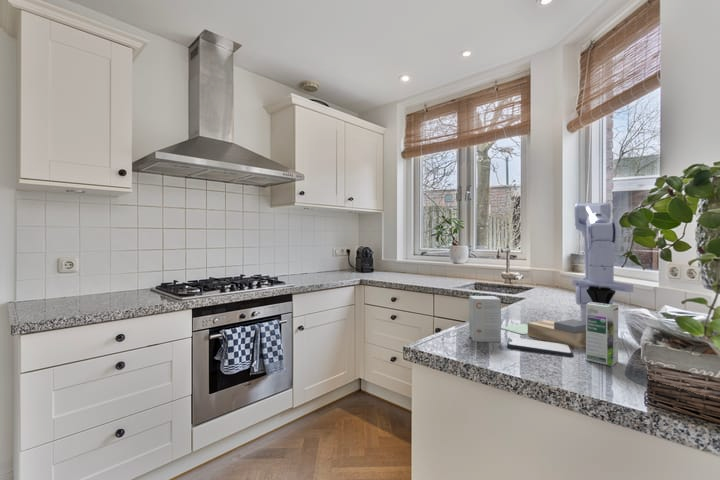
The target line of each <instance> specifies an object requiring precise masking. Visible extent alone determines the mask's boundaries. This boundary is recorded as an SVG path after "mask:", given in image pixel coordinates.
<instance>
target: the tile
mask: <svg viewBox="0 0 720 480" xmlns="http://www.w3.org/2000/svg"><path fill="white" fill-rule="evenodd" d="M554 329H557V330H561V331H565V332H569V333H573V334H576V333H581V332H586V322H583V321H580V319H579V320H578V319H572V318H571V319H565V320H560V321H555V322H554Z"/></svg>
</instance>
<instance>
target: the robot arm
mask: <svg viewBox="0 0 720 480" xmlns="http://www.w3.org/2000/svg"><path fill="white" fill-rule="evenodd" d="M611 210H612V207H611V203H609V202H608V201H606V202H589V203H588V202H587V203H576V204H575V205H574V226H575V229H576V230H578V231H580V232H581V234H582V236H583V247H584V248H583V249H584V251H583V252H584V277H581V278H574V279H572V286H574V287H575V296H574V297H575V304H576V305H578V306H579V307H580V311H579V312H580V315H579V316H580V319H579V321H583V322H586V304H588V303H590V302H595V303H603V304H612V305H614V295H615V294H616V291H619V292H626V293H633V292H634V284H631V283H622V282H616V281H614V279H615V278H614V277H615V273H614V270H615V266H614V260H615V259H614V258H615V257H614V255H615V254H614V253H615V252H614V249H615V246H614V245H615V243H616V241H617V235H618V234H617V232H618V231H617V226H616V222H615V221H614V222H613V221H611V222H610V219H611V216H612V215H611V213H612V212H611Z"/></svg>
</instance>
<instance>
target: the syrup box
mask: <svg viewBox="0 0 720 480" xmlns="http://www.w3.org/2000/svg"><path fill="white" fill-rule="evenodd" d="M585 361H587V362H593V363H597V364H600V365H605V366H609V367H613V366H614V365H616V364H617V363H618V361H619V304H613V305H612V304H603V303H595V302H590V303H588V304H586V346H585Z"/></svg>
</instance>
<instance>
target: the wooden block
mask: <svg viewBox="0 0 720 480" xmlns="http://www.w3.org/2000/svg"><path fill="white" fill-rule="evenodd" d="M554 322H556V321H555V320H551V319H544V320H543V319H542V320H537V321H533V322H532V321H531V322H527V325H528V334H527V336H529V337H531V338H532V337H533V338H536V339H540V340H542V341H543V340H544V341H545V342H551V343H559V344H566V345H569V346H570V347H571V349H574V350H575V349H579V348H583V347H584V348H585V347H586V332H581V333H576V334H573V333H569V332H565V331H561V330H557V329H554Z"/></svg>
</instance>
